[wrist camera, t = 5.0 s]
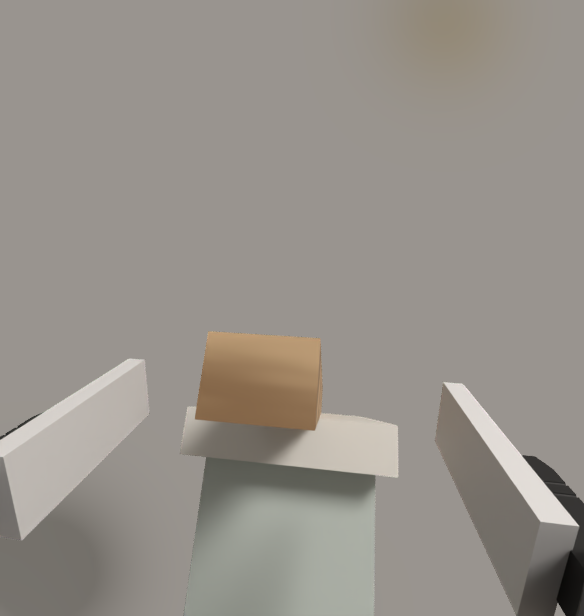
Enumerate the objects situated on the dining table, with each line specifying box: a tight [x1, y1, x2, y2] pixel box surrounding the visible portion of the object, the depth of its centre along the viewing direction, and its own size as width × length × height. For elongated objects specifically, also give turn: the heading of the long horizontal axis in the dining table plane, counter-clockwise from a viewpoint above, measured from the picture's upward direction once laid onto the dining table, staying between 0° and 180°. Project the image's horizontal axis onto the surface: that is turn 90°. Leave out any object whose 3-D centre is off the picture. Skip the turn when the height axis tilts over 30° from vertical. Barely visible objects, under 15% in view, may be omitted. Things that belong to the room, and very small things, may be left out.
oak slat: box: [195, 332, 322, 431], centre depth 25 cm, size 30×4×3 cm, turn 175°
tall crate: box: [180, 407, 398, 616], centre depth 27 cm, size 20×14×30 cm
